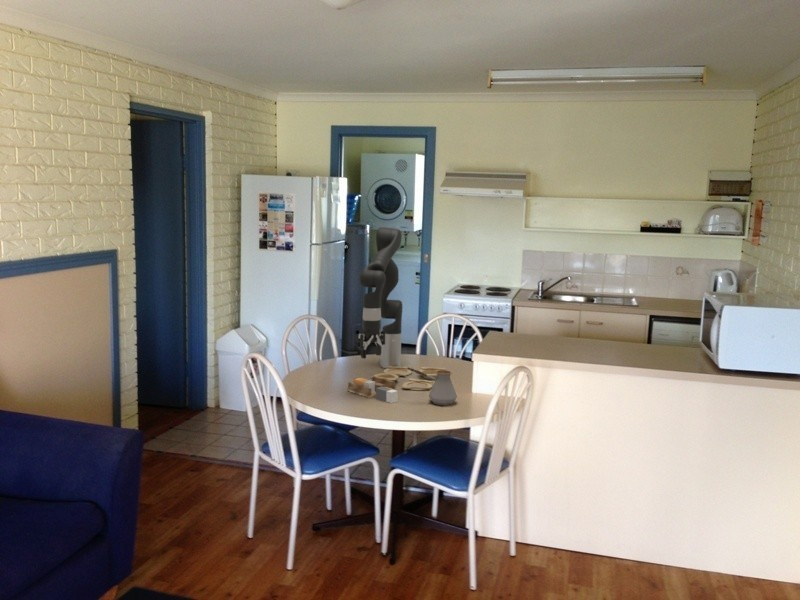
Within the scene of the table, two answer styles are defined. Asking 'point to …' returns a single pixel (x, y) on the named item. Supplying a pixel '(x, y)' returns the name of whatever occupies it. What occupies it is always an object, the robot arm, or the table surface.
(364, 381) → the orange white rectangular block
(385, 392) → the two-tone square pillar
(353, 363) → the table surface
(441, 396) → the coffee pot
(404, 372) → the tableware set
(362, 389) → the brown wooden divided tray
